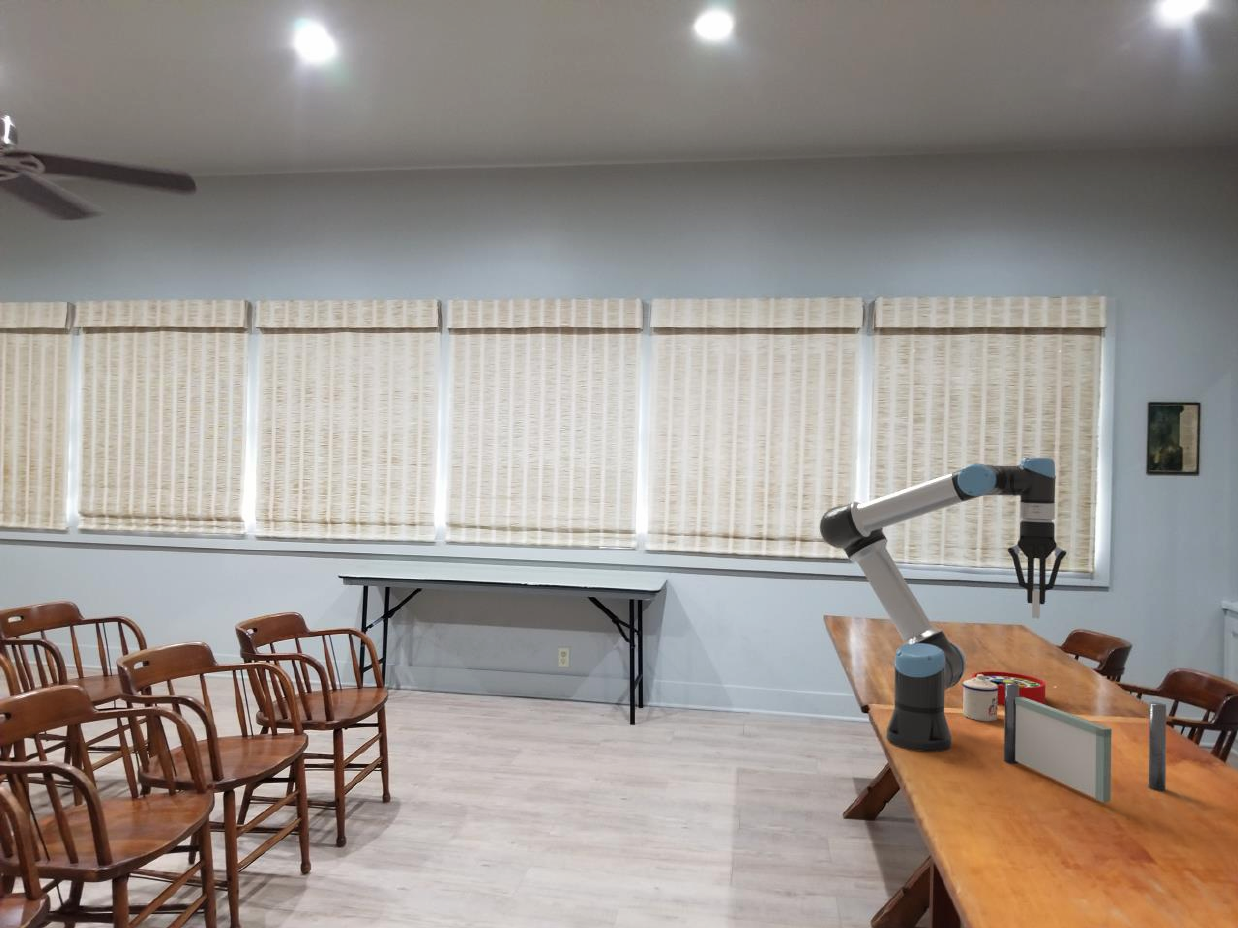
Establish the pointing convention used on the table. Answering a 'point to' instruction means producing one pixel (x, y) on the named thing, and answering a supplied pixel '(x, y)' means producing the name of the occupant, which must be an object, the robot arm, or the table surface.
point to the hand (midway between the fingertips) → (1035, 617)
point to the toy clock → (1027, 684)
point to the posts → (1155, 736)
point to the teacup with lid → (980, 699)
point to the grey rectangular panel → (1064, 747)
